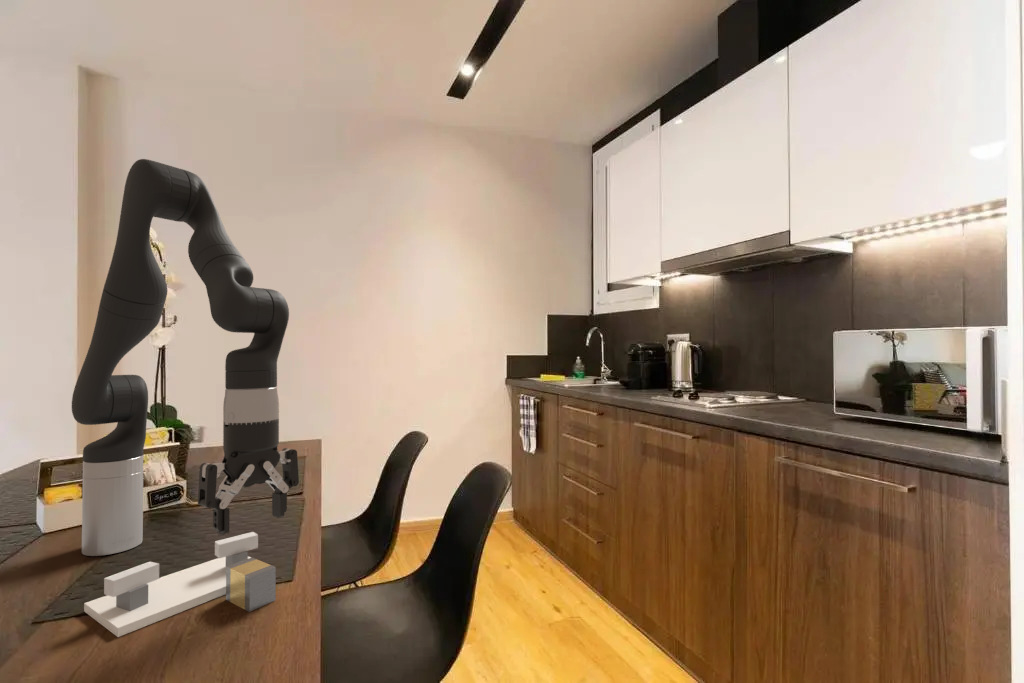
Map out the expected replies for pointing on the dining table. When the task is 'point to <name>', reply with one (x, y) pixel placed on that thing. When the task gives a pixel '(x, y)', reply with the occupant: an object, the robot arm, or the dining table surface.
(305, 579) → the dining table surface
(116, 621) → the stand
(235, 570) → the block
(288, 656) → the dining table surface
